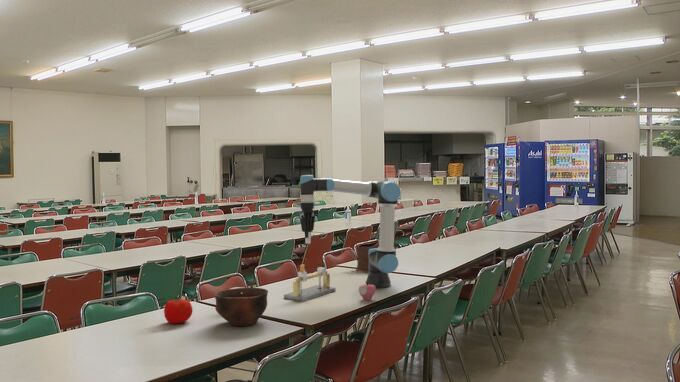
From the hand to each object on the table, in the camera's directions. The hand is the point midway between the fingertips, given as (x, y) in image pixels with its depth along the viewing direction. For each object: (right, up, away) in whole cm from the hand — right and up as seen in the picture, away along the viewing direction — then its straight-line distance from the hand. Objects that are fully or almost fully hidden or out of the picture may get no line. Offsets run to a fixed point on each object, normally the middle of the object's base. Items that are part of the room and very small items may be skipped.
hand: (308, 243), depth 312 cm
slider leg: (-3, -28, -3) cm, 28 cm away
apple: (+33, -30, -11) cm, 46 cm away
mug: (-34, -32, -24) cm, 53 cm away
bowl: (-28, -33, -52) cm, 68 cm away
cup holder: (+36, -27, +81) cm, 92 cm away
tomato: (-60, -34, -49) cm, 84 cm away
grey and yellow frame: (+1, -30, +5) cm, 30 cm away
